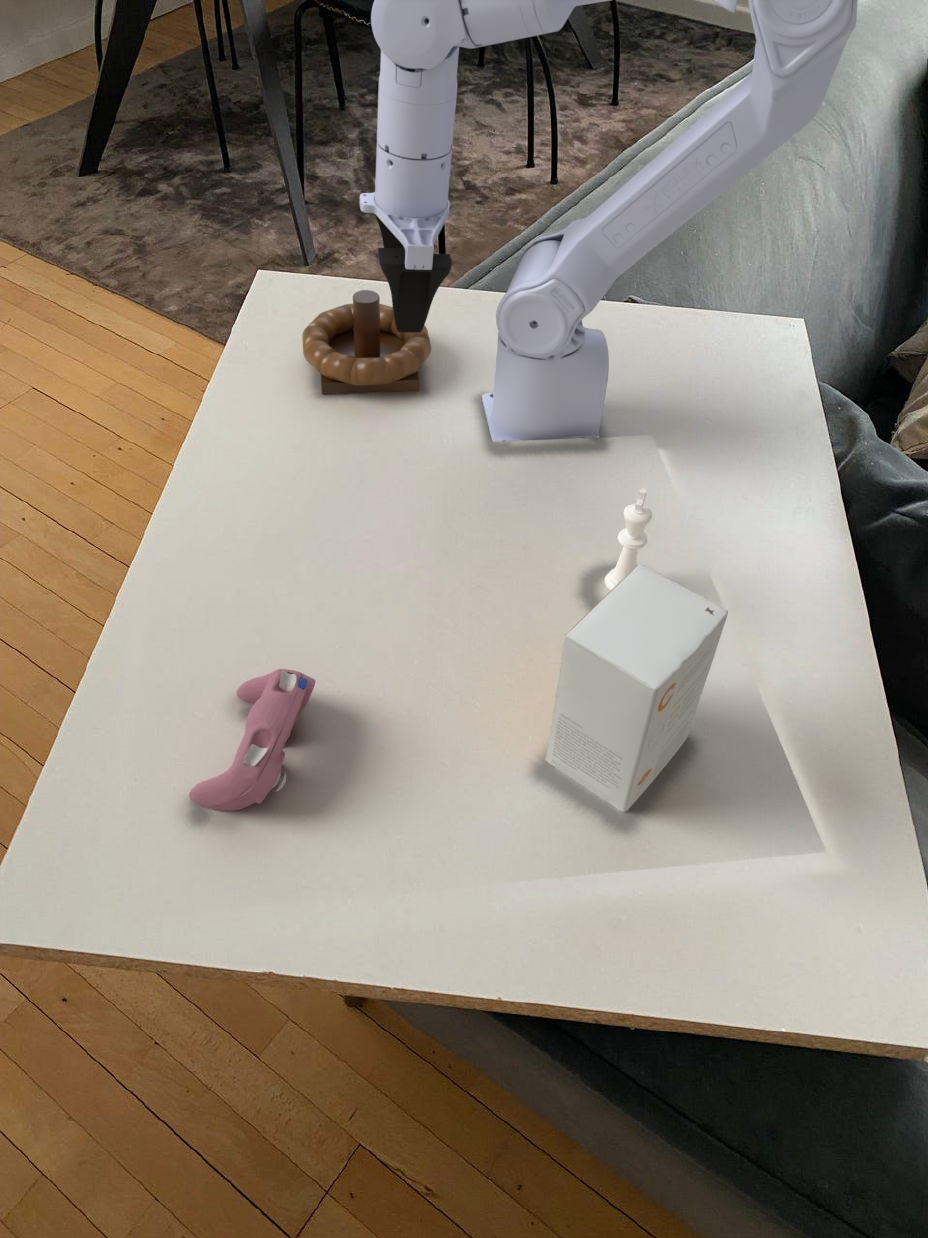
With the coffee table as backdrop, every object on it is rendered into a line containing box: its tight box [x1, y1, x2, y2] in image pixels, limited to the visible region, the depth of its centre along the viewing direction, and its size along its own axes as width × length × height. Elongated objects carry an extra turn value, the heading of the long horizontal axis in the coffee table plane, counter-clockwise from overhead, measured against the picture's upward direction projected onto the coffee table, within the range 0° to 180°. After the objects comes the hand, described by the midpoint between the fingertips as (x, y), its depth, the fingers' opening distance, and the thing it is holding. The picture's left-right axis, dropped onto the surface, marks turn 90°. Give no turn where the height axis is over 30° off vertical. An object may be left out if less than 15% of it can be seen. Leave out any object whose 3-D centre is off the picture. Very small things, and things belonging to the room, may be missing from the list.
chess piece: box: [604, 487, 653, 592], centre depth 76 cm, size 5×5×10 cm
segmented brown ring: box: [301, 303, 432, 385], centre depth 97 cm, size 12×12×2 cm
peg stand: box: [319, 289, 421, 395], centre depth 96 cm, size 9×9×7 cm
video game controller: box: [188, 668, 316, 812], centre depth 65 cm, size 10×5×7 cm, turn 168°
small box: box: [544, 563, 729, 813], centre depth 64 cm, size 8×6×13 cm
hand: (404, 305), depth 89 cm, fingers open, 7 cm apart
